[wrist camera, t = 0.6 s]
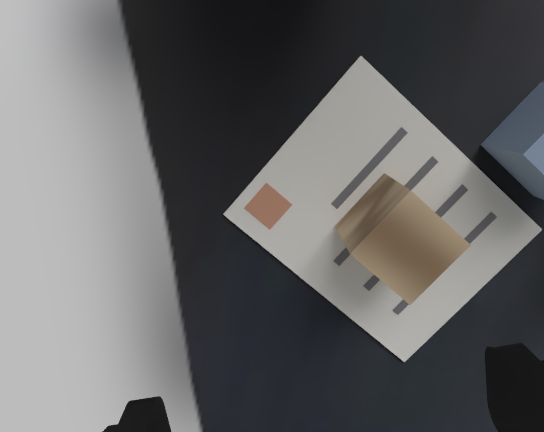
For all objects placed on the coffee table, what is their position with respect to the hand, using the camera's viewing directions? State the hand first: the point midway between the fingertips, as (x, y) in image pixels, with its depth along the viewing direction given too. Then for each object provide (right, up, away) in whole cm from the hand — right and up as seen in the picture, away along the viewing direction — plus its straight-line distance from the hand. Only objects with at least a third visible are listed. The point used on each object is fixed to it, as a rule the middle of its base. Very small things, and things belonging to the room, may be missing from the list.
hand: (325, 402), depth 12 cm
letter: (+7, +4, +22) cm, 23 cm away
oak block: (+7, +4, +22) cm, 23 cm away
